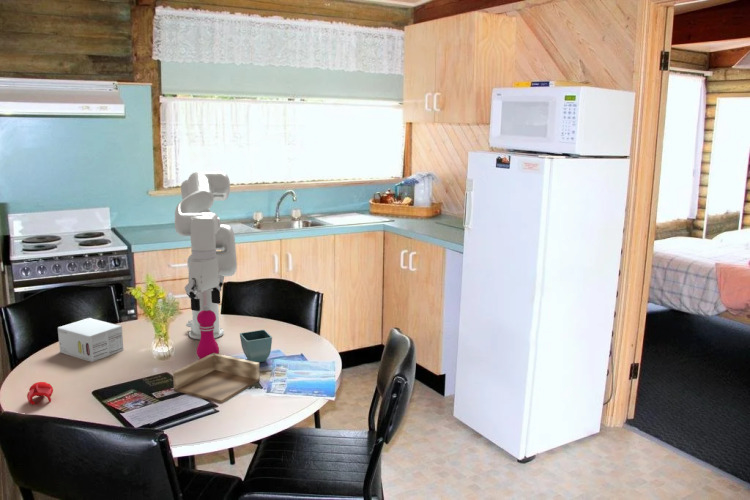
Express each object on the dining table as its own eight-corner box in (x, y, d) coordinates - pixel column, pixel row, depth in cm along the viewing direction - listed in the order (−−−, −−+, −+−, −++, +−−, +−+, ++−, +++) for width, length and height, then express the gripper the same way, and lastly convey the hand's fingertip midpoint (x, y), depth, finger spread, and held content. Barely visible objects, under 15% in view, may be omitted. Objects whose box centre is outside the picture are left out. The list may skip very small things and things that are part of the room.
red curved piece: (55, 393, 176) (56, 376, 180) (32, 391, 173) (33, 374, 177) (47, 410, 180) (48, 393, 184) (24, 408, 177) (25, 391, 181)
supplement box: (58, 353, 216) (56, 327, 214) (92, 341, 227) (90, 317, 225) (91, 362, 208) (89, 335, 206) (124, 350, 219) (122, 324, 217)
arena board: (173, 390, 187) (173, 387, 187) (214, 369, 203) (214, 367, 203) (221, 402, 179) (221, 400, 179) (259, 380, 195) (259, 377, 195)
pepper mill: (199, 359, 211) (196, 302, 207) (221, 359, 211) (219, 302, 207) (195, 368, 204) (192, 309, 200) (217, 367, 204) (215, 308, 200)
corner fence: (173, 387, 187) (172, 372, 186) (214, 367, 203) (213, 352, 202) (221, 400, 179) (220, 383, 178) (259, 377, 195) (259, 362, 194)
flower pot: (247, 367, 205) (246, 341, 204) (239, 358, 213) (239, 332, 211) (273, 362, 209) (272, 337, 208) (264, 354, 217) (264, 329, 215)
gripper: (212, 249, 209) (214, 299, 212) (175, 258, 194) (178, 311, 197) (230, 251, 206) (232, 301, 209) (194, 260, 191) (196, 315, 194)
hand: (206, 306), depth 203 cm, fingers open, 9 cm apart
